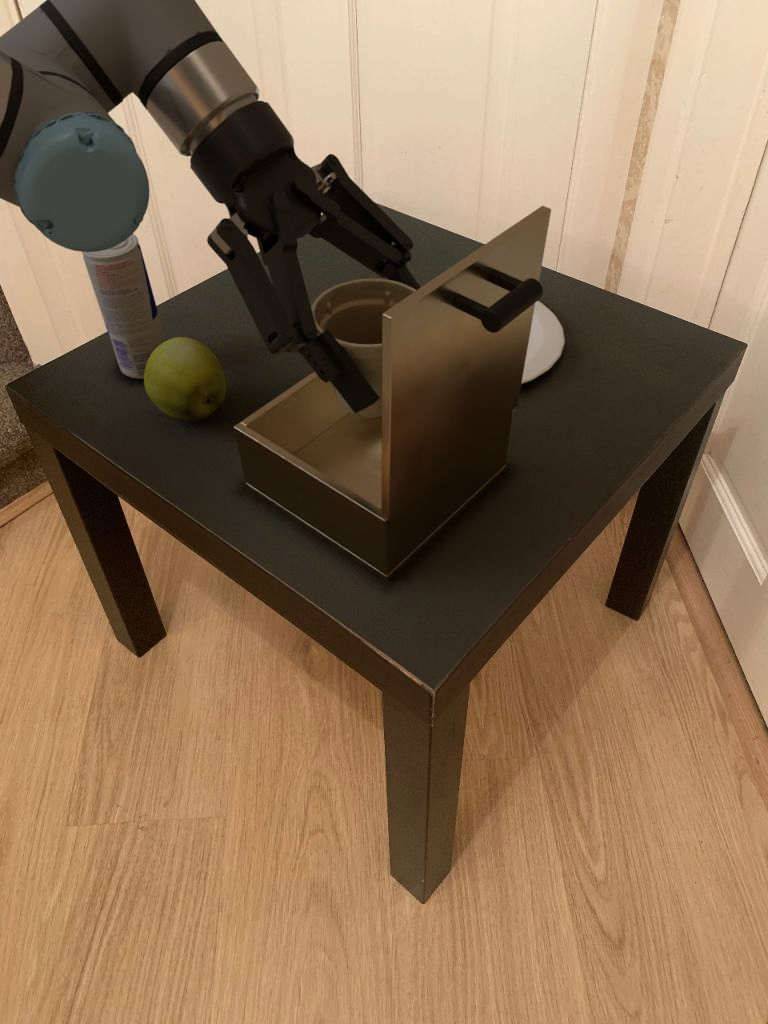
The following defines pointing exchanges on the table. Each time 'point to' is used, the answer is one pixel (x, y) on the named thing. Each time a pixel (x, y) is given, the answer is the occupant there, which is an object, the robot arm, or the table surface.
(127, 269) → the beverage can
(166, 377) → the apple
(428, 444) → the lid
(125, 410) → the table surface
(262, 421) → the bronze square open box
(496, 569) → the table surface
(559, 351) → the plate
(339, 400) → the flower pot
